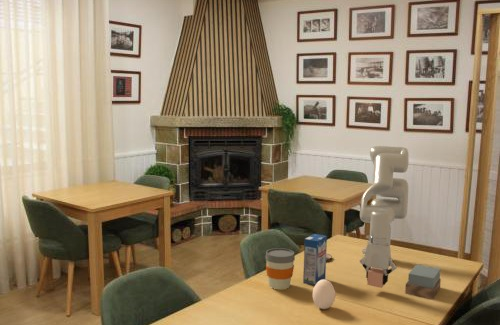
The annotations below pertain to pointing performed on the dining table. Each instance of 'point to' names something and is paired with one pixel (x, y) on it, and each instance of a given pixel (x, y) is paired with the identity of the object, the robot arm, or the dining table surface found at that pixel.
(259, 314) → the dining table surface
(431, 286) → the slate top block
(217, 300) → the dining table surface
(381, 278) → the terracotta block
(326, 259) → the burger
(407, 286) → the walnut base block
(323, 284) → the egg
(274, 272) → the reusable coffee cup
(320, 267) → the milk carton
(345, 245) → the dining table surface
